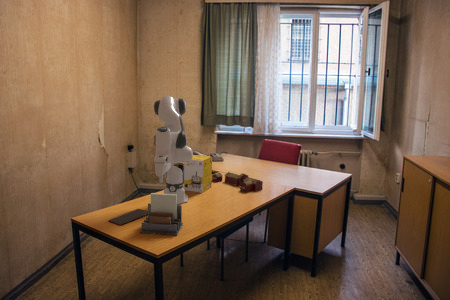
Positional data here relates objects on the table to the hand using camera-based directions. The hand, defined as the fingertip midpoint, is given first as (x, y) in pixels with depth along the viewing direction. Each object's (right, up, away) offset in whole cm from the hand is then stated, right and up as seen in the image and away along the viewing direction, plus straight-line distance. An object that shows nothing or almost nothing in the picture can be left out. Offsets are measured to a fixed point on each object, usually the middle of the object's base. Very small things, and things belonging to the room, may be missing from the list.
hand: (163, 180), depth 209 cm
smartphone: (-24, -25, +17) cm, 39 cm away
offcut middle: (-1, -27, +1) cm, 27 cm away
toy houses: (+44, -12, +94) cm, 104 cm away
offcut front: (-1, -27, -3) cm, 28 cm away
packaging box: (+14, -14, +80) cm, 82 cm away
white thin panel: (-1, -26, +5) cm, 27 cm away
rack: (-1, -28, +1) cm, 28 cm away
